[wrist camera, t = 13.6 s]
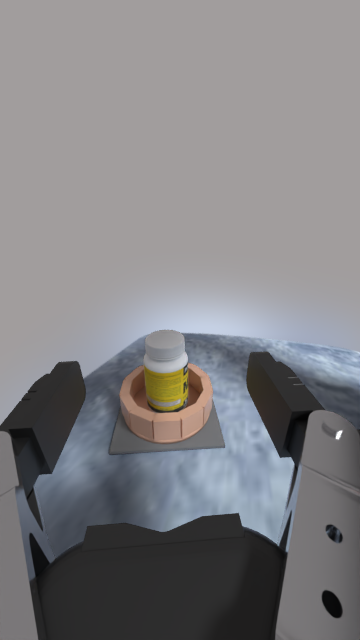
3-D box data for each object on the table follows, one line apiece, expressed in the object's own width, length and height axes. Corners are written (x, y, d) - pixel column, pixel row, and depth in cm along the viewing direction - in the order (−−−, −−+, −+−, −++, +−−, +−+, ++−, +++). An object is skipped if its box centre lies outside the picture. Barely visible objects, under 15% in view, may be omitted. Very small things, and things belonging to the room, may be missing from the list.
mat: (205, 376, 31) (205, 374, 31) (224, 447, 21) (225, 445, 21) (127, 379, 31) (127, 377, 31) (109, 454, 21) (108, 452, 21)
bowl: (203, 376, 31) (203, 358, 30) (218, 441, 22) (220, 418, 20) (130, 379, 30) (128, 361, 29) (115, 447, 21) (111, 424, 20)
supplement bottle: (192, 415, 24) (192, 348, 20) (147, 421, 23) (140, 353, 20) (184, 385, 28) (183, 326, 25) (146, 390, 27) (140, 329, 24)
